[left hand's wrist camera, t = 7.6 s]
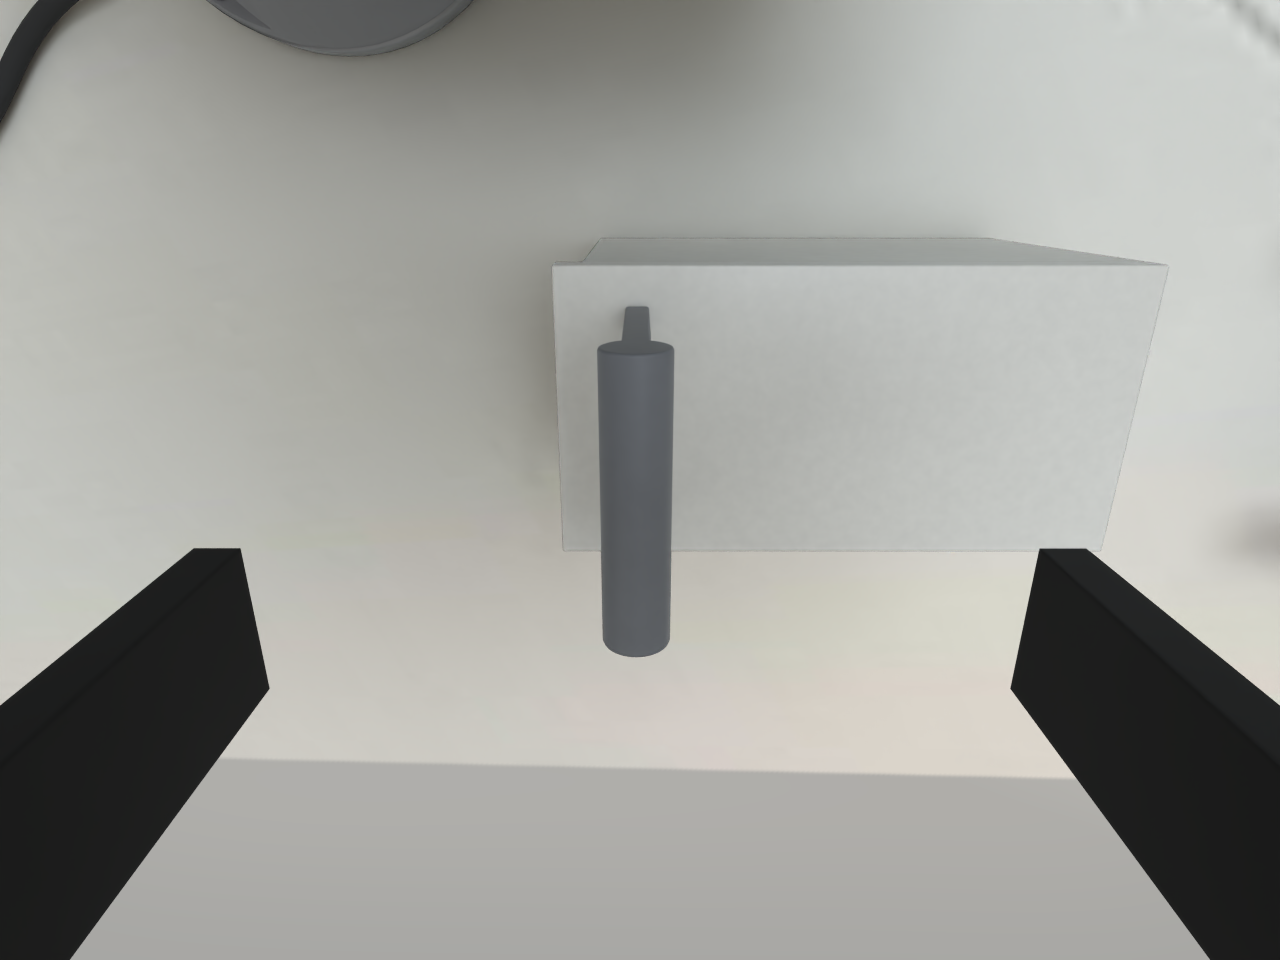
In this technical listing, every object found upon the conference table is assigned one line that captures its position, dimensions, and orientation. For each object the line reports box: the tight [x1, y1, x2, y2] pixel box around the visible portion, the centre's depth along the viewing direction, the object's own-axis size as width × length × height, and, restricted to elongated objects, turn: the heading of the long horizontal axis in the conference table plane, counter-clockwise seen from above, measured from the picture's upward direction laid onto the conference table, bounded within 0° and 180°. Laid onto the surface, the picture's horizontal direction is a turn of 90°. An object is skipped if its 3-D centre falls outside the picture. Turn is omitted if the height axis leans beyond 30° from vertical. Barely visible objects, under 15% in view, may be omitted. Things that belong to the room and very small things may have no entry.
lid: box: [551, 262, 1169, 657], centre depth 21 cm, size 18×9×9 cm, turn 90°
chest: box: [583, 238, 1144, 262], centre depth 30 cm, size 17×9×11 cm, turn 90°
